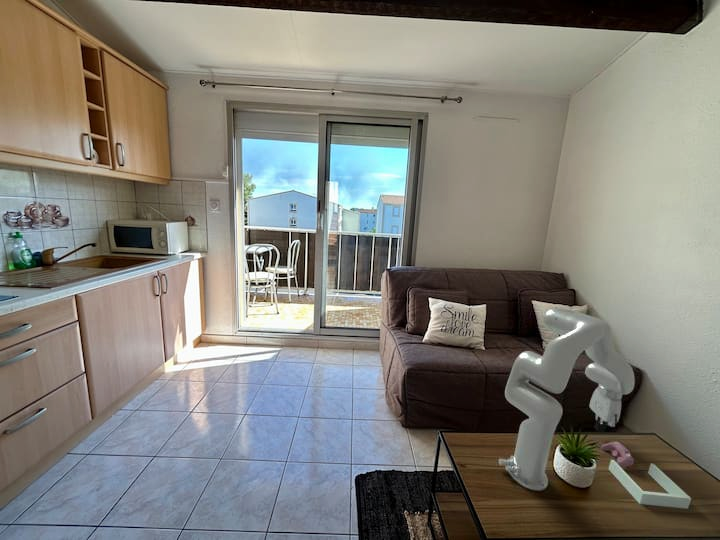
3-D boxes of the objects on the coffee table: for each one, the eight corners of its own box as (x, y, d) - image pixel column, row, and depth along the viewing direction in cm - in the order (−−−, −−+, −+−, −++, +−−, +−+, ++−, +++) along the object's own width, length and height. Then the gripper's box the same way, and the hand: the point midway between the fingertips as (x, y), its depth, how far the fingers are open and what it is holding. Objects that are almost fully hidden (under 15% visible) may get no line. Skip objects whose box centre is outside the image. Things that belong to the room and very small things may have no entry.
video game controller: (625, 474, 107) (640, 461, 106) (614, 467, 108) (628, 454, 106) (609, 453, 117) (621, 441, 115) (598, 446, 117) (611, 434, 115)
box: (639, 503, 95) (642, 493, 94) (608, 468, 107) (611, 459, 106) (687, 508, 94) (691, 498, 93) (650, 473, 107) (653, 463, 106)
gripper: (587, 380, 126) (578, 417, 130) (614, 402, 111) (603, 443, 115) (605, 381, 125) (595, 418, 129) (635, 404, 111) (623, 445, 115)
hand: (599, 430), depth 122 cm, fingers closed
